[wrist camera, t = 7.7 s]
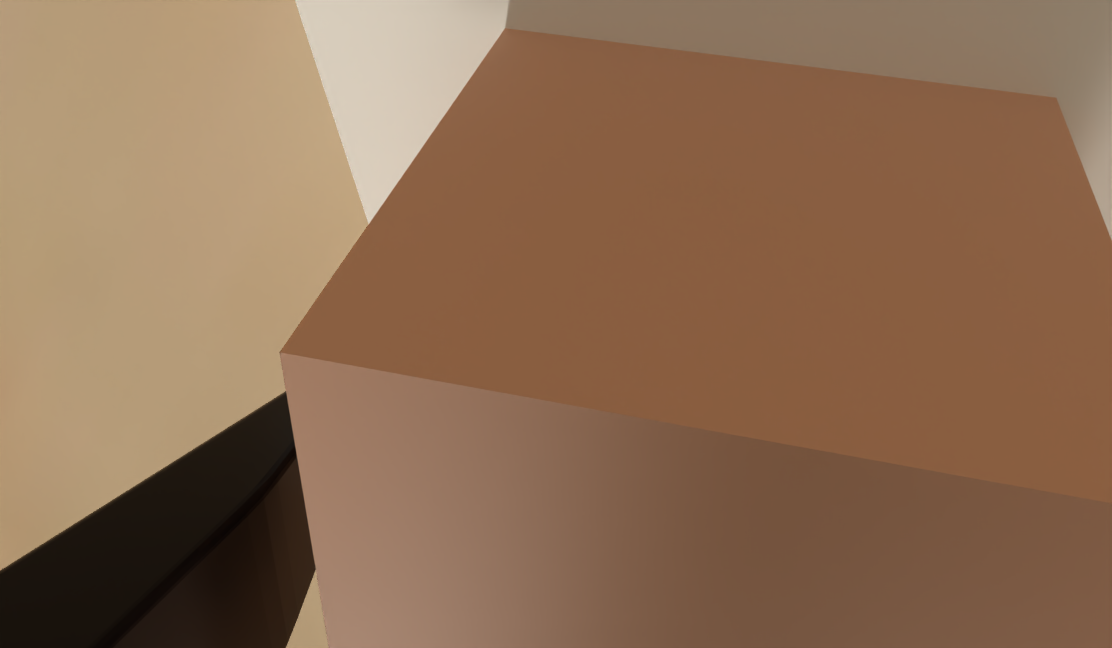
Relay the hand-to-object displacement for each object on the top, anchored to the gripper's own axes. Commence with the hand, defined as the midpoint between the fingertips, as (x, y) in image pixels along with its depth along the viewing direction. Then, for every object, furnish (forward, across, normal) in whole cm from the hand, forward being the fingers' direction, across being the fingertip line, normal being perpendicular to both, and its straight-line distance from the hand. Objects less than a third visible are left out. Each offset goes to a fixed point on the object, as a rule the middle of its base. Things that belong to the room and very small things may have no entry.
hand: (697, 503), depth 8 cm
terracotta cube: (+3, 0, 0) cm, 3 cm away
